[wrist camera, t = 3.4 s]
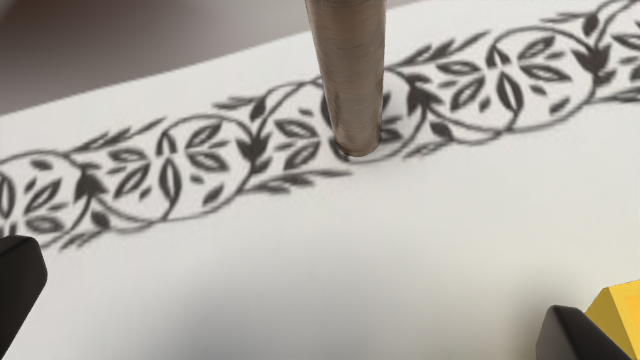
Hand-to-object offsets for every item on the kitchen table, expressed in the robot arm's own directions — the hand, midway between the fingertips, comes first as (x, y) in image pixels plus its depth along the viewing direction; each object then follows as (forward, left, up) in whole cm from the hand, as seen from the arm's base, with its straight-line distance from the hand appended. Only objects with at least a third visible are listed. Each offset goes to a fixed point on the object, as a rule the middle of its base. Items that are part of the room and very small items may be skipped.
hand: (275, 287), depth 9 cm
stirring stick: (+8, -1, -13) cm, 16 cm away
